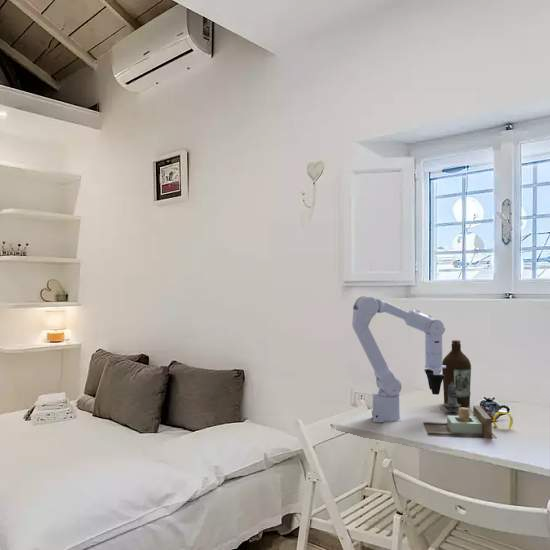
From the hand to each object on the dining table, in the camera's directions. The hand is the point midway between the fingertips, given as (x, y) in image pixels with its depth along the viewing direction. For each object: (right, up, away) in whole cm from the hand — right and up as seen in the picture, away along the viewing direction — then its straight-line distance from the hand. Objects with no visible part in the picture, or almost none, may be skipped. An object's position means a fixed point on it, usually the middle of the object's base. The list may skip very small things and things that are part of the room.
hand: (434, 391), depth 182 cm
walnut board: (+3, -9, -16) cm, 18 cm away
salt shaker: (+8, -10, +5) cm, 13 cm away
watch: (+18, -9, -13) cm, 24 cm away
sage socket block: (+5, -9, -16) cm, 19 cm away
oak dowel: (+5, -8, -16) cm, 18 cm away
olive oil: (+14, -10, +18) cm, 25 cm away
